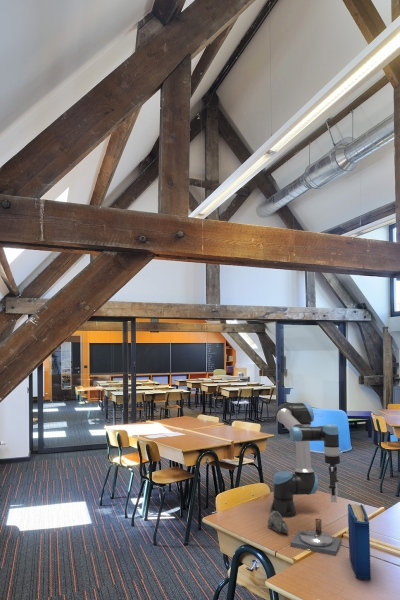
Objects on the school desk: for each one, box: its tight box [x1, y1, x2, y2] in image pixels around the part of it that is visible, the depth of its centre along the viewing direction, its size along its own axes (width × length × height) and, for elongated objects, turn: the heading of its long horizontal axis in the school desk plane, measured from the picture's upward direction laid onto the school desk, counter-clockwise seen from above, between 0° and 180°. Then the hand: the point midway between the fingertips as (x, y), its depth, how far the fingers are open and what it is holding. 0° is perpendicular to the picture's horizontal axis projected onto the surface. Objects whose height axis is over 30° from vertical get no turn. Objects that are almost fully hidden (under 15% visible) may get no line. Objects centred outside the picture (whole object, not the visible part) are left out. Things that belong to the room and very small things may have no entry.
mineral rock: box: [267, 511, 290, 534], centre depth 239 cm, size 13×11×10 cm
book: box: [347, 503, 372, 580], centre depth 198 cm, size 22×7×25 cm, turn 168°
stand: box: [290, 530, 343, 557], centre depth 222 cm, size 17×22×2 cm
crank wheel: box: [300, 518, 334, 547], centre depth 223 cm, size 16×16×8 cm
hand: (334, 498), depth 224 cm, fingers open, 13 cm apart
